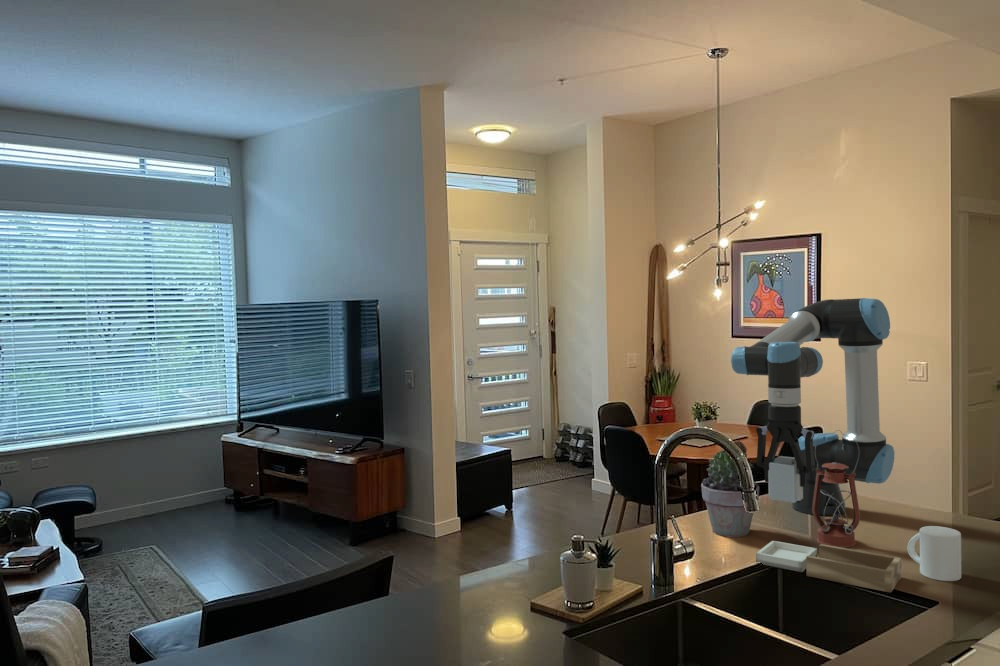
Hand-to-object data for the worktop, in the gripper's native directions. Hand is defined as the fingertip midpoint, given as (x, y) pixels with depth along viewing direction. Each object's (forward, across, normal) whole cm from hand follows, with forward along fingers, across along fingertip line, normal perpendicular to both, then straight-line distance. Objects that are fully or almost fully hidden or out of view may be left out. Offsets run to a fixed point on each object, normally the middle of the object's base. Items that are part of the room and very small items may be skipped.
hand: (785, 497), depth 182 cm
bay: (+16, +16, -2) cm, 23 cm away
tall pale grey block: (0, 0, 0) cm, 0 cm away
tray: (+16, 0, 0) cm, 16 cm away
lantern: (+16, +6, +22) cm, 28 cm away
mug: (+16, +30, +11) cm, 36 cm away
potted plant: (+16, -20, +14) cm, 29 cm away
